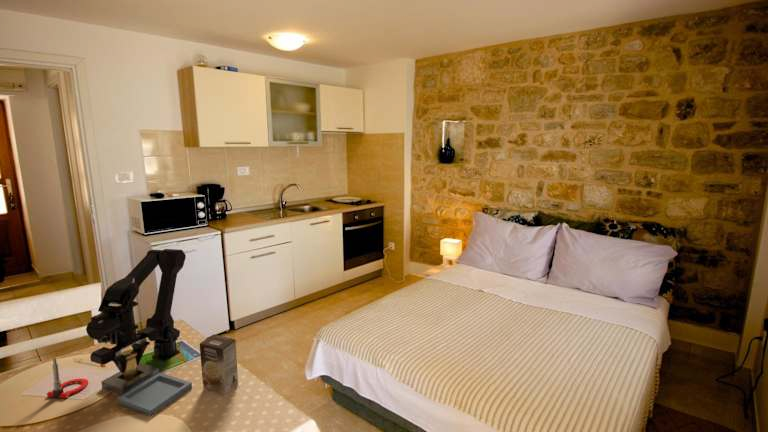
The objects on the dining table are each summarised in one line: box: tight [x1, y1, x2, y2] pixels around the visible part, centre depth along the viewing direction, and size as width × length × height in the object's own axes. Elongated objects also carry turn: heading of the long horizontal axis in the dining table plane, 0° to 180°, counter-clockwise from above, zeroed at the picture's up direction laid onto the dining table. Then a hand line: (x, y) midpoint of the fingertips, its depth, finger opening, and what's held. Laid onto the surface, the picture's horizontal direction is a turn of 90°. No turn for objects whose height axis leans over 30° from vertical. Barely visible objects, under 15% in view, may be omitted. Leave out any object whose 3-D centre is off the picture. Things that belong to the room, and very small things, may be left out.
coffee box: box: [199, 333, 239, 396], centre depth 121 cm, size 9×6×16 cm
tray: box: [116, 372, 193, 417], centre depth 118 cm, size 14×14×2 cm
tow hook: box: [46, 356, 89, 400], centre depth 120 cm, size 8×13×9 cm
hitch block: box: [101, 361, 160, 396], centre depth 125 cm, size 12×10×2 cm
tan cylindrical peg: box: [121, 349, 138, 381], centre depth 124 cm, size 5×5×10 cm
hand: (129, 368), depth 124 cm, fingers closed on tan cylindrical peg, 4 cm apart
